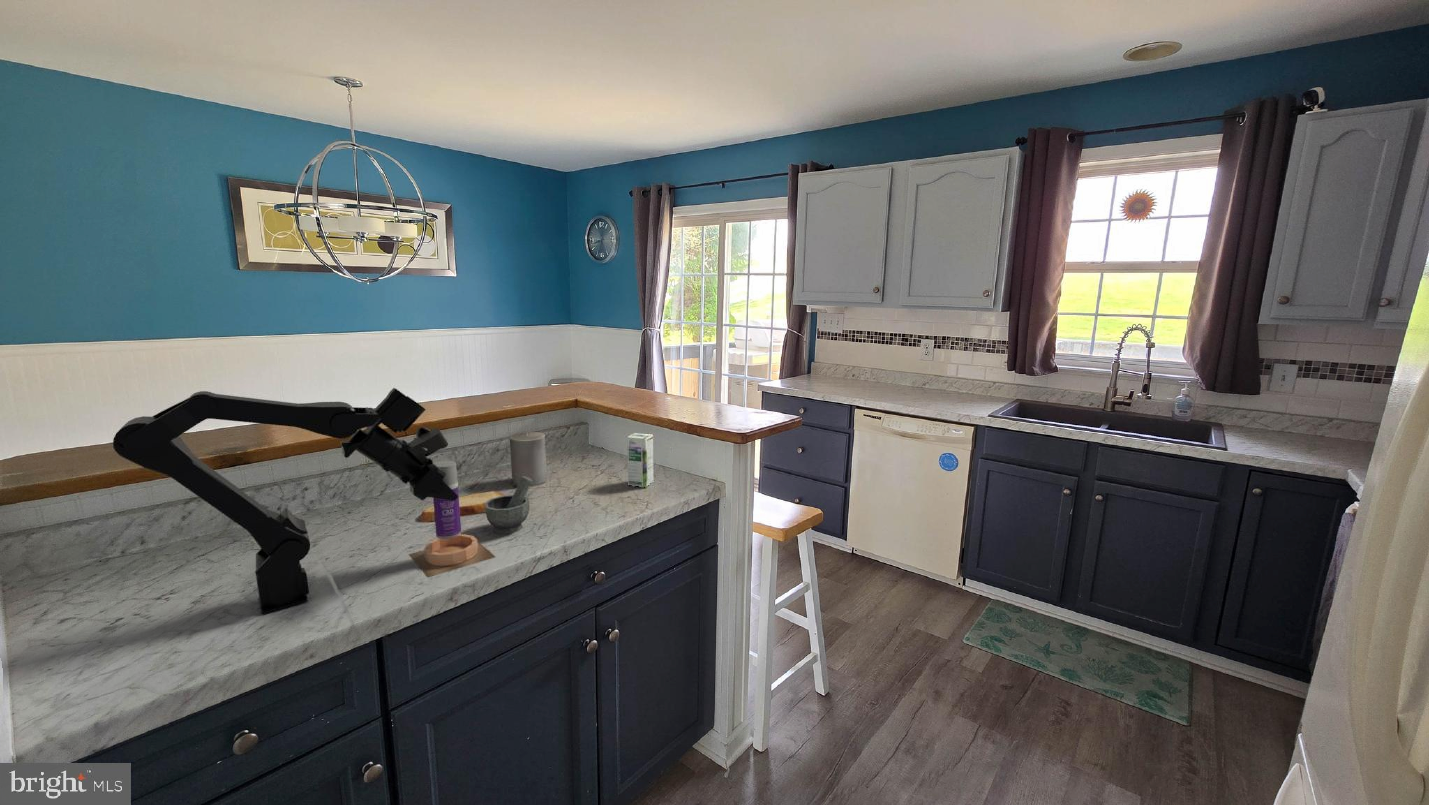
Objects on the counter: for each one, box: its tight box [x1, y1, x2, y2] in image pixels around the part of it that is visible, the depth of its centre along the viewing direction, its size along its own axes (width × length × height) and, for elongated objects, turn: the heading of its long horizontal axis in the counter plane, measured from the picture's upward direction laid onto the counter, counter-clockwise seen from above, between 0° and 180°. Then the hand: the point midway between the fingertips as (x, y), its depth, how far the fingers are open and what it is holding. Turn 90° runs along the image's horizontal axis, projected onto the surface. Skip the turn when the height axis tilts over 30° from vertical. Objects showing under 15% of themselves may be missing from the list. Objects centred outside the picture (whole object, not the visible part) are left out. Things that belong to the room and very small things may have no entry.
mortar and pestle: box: [484, 476, 533, 535], centre depth 131 cm, size 11×9×12 cm
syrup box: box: [626, 432, 654, 489], centre depth 163 cm, size 6×6×14 cm
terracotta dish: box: [423, 533, 479, 566], centre depth 118 cm, size 10×10×2 cm
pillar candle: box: [509, 431, 548, 488], centre depth 165 cm, size 10×10×15 cm
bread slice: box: [419, 490, 505, 523], centre depth 143 cm, size 18×18×4 cm
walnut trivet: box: [408, 540, 496, 578], centre depth 118 cm, size 13×13×1 cm
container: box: [432, 460, 462, 539], centre depth 116 cm, size 5×5×15 cm
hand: (453, 495), depth 117 cm, fingers closed on container, 5 cm apart
